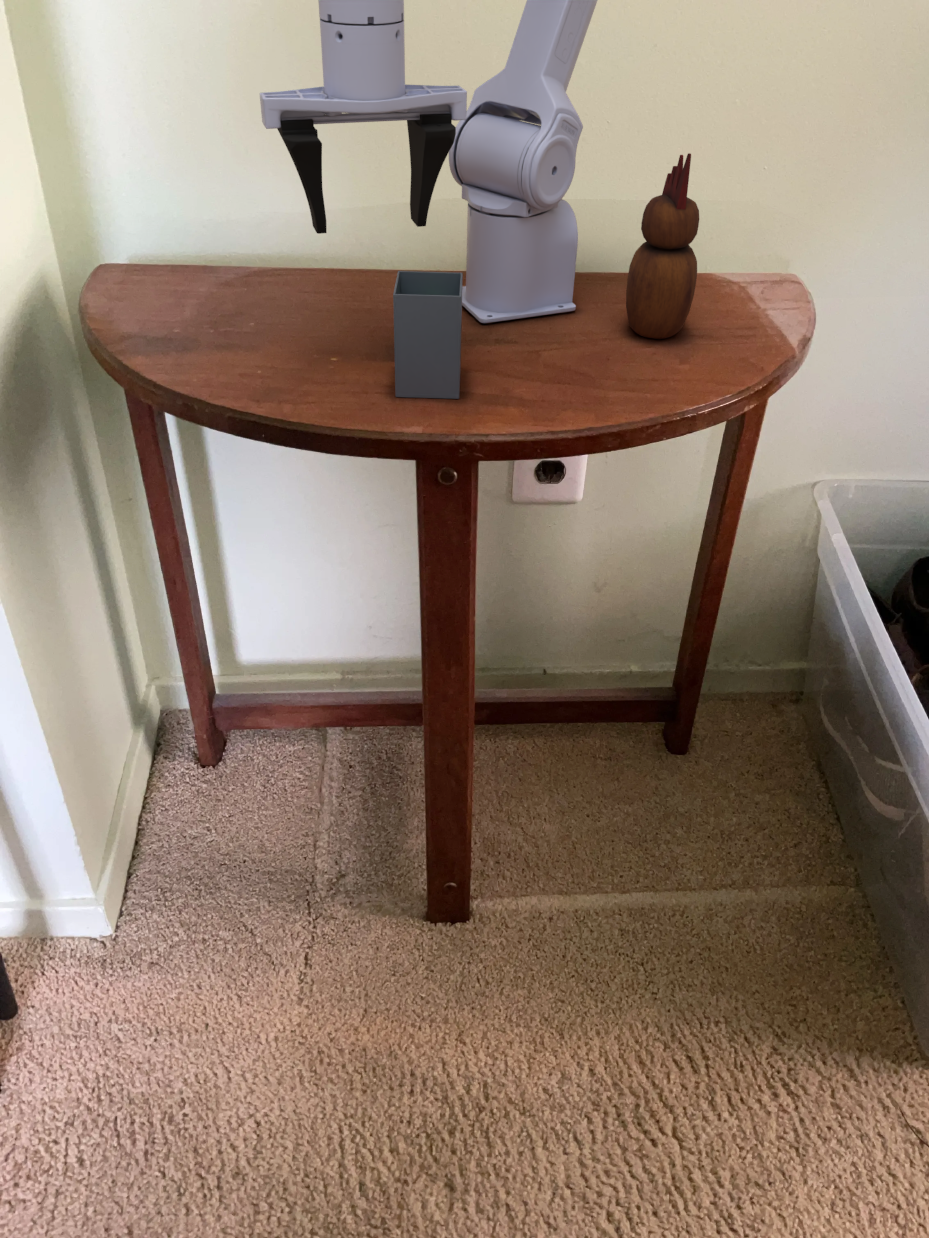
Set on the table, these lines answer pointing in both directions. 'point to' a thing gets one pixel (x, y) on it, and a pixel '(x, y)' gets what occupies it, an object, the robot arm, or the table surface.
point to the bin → (427, 334)
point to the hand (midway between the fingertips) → (369, 226)
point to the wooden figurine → (664, 260)
